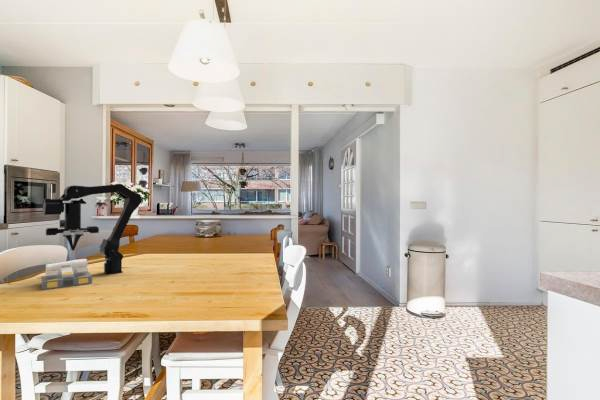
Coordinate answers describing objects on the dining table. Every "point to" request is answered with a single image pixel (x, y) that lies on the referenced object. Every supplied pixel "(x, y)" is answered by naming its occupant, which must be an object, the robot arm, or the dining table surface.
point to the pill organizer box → (65, 280)
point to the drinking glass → (73, 264)
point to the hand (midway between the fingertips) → (72, 250)
